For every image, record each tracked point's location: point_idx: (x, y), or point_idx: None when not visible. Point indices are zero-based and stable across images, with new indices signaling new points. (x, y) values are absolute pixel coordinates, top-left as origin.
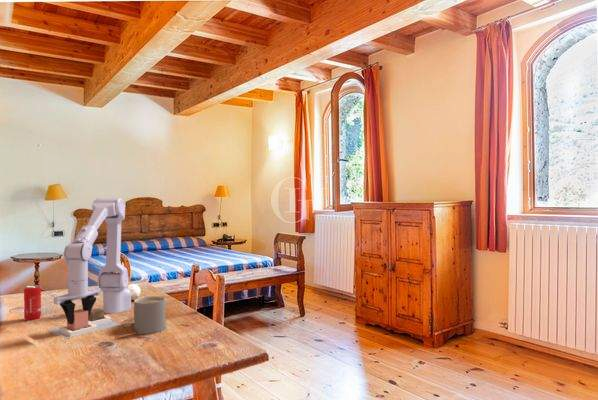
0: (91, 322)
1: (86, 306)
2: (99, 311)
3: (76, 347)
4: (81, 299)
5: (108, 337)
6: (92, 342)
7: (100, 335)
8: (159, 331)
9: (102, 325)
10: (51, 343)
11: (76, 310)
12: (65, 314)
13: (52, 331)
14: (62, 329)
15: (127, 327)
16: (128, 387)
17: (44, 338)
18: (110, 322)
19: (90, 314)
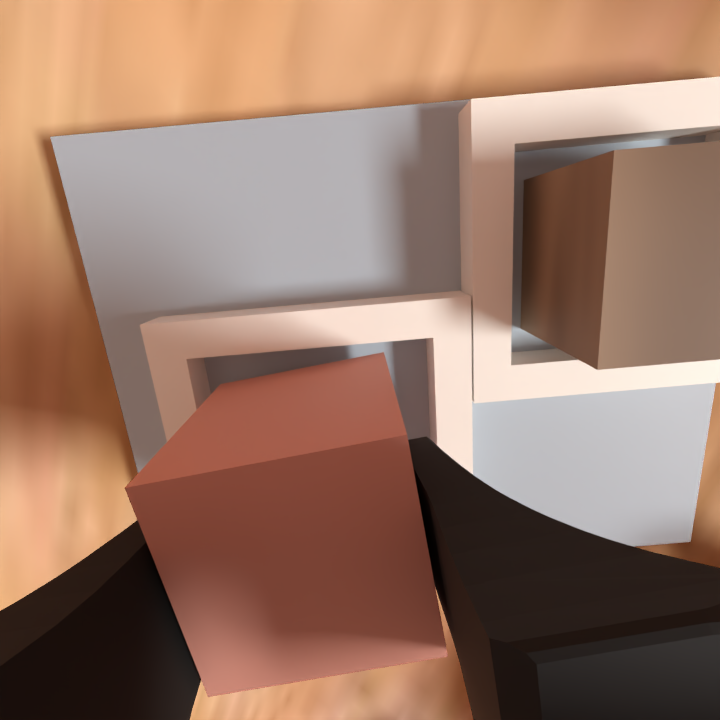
0: (492, 400)
1: (465, 674)
2: (708, 356)
3: (213, 713)
4: (483, 655)
5: (456, 673)
6: (329, 694)
7: (438, 597)
8: None
9: (559, 450)
10: (76, 524)
11: (310, 489)
12: (94, 560)
13: (96, 274)
14: (164, 416)
15: (693, 557)
16: None
17: (34, 340)
18: (669, 408)
19: (578, 281)
